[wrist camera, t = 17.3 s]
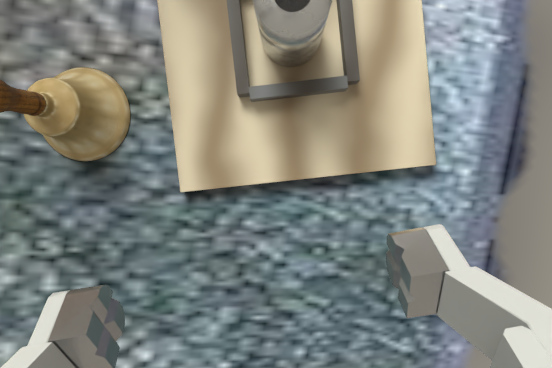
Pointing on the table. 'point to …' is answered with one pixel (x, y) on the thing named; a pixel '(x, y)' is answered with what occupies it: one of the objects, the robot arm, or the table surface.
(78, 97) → the hand bell
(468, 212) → the table surface
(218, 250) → the table surface
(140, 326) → the table surface
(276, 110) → the hub board
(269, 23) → the sleeve
